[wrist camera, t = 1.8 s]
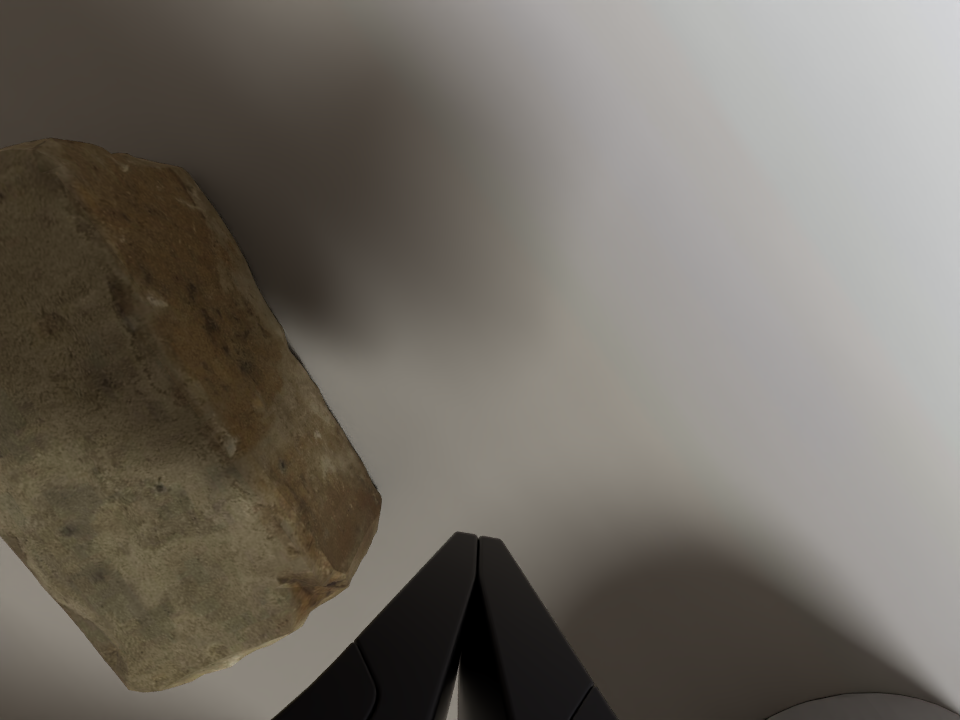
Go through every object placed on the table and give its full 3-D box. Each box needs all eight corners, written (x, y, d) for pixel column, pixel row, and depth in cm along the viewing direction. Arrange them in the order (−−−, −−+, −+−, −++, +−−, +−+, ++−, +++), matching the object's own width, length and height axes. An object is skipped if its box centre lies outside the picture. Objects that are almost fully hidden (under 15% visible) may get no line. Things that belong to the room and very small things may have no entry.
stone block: (247, 574, 15) (126, 730, 10) (18, 246, 13) (-275, 245, 8) (404, 504, 14) (353, 638, 9) (186, 139, 12) (-28, 67, 7)
